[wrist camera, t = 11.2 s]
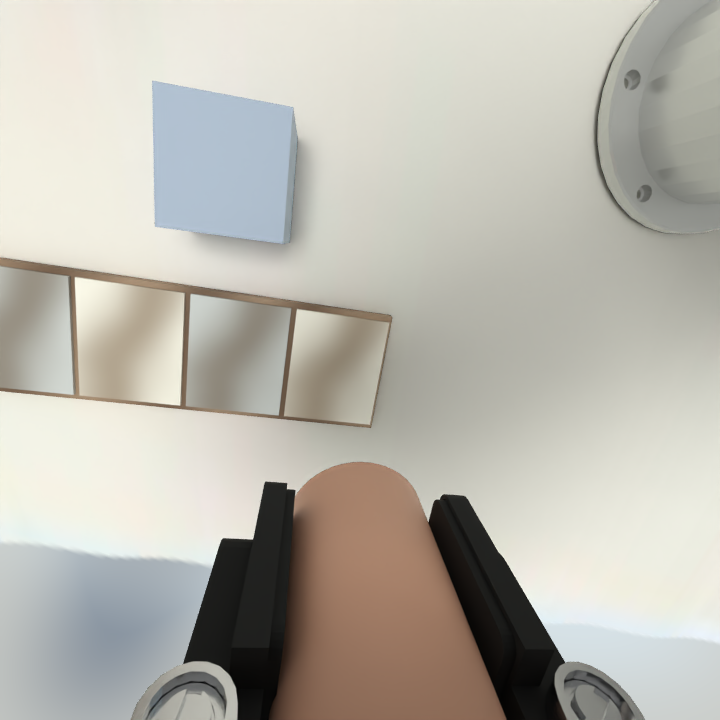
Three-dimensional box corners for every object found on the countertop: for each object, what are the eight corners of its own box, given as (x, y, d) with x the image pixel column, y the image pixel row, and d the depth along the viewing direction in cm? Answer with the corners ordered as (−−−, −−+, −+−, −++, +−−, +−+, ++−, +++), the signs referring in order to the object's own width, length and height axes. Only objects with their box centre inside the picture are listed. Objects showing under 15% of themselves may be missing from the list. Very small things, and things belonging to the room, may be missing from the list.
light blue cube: (297, 139, 19) (293, 107, 15) (289, 242, 21) (283, 243, 16) (193, 120, 19) (152, 80, 14) (192, 229, 20) (155, 226, 15)
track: (390, 315, 22) (393, 318, 22) (369, 423, 24) (371, 429, 24) (-42, 251, 19) (-57, 251, 18) (-26, 383, 21) (-39, 388, 20)
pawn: (440, 479, 10) (829, 1224, 3) (393, 583, 11) (572, 1368, 3) (310, 447, 10) (293, 1352, 2) (271, 561, 10) (147, 1490, 3)
